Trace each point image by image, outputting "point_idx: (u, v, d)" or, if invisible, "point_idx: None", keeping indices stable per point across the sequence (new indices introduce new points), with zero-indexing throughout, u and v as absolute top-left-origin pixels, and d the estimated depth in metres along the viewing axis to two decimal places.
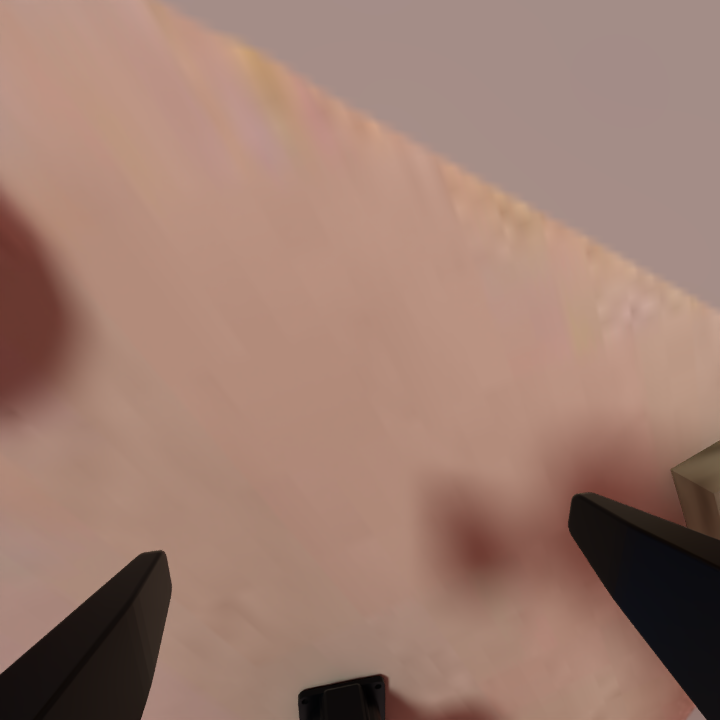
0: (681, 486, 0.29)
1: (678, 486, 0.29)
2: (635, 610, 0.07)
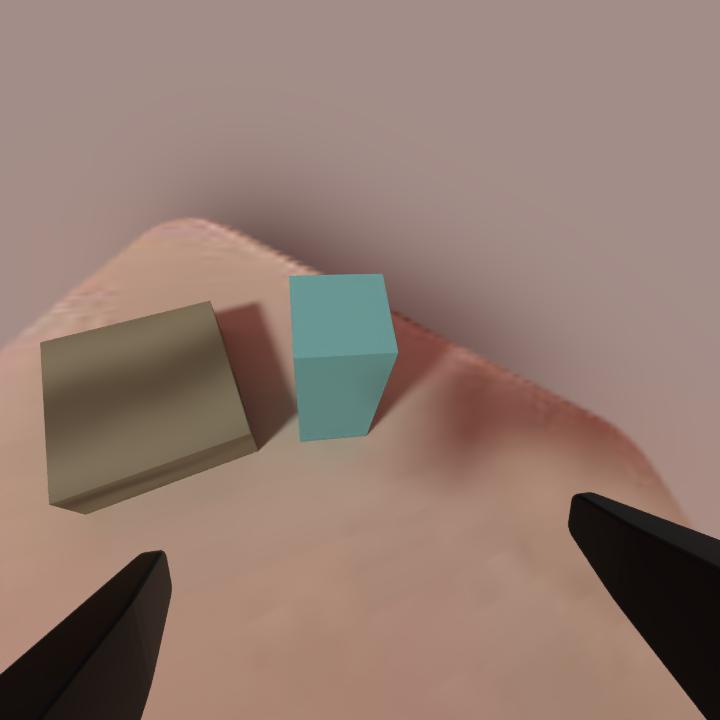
0: (108, 502, 0.19)
1: (116, 501, 0.20)
2: (635, 610, 0.07)
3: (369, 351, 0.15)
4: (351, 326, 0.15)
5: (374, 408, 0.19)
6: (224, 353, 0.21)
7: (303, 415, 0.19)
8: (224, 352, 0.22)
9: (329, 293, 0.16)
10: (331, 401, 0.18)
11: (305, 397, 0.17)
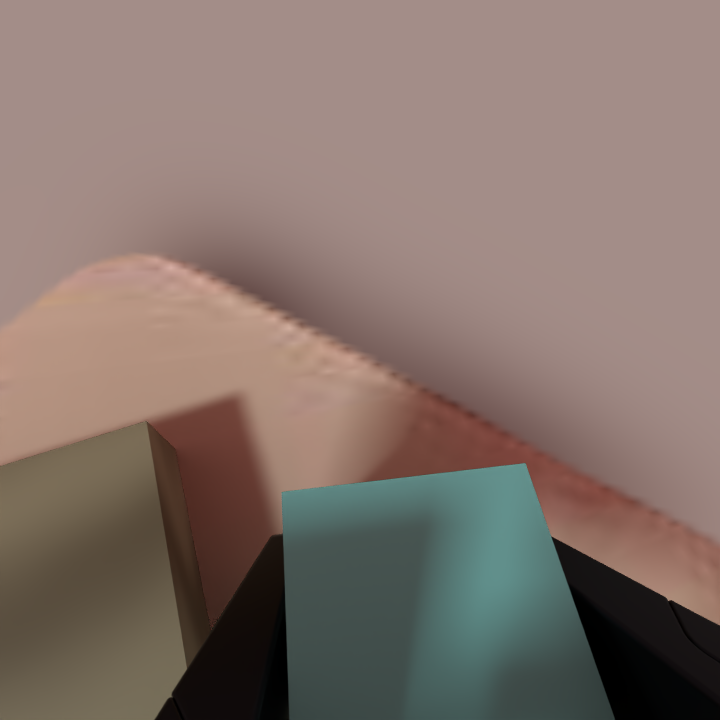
0: None
1: None
2: None
3: None
4: (478, 691, 0.05)
5: None
6: (162, 539, 0.11)
7: None
8: (162, 537, 0.11)
9: (397, 549, 0.05)
10: None
11: None
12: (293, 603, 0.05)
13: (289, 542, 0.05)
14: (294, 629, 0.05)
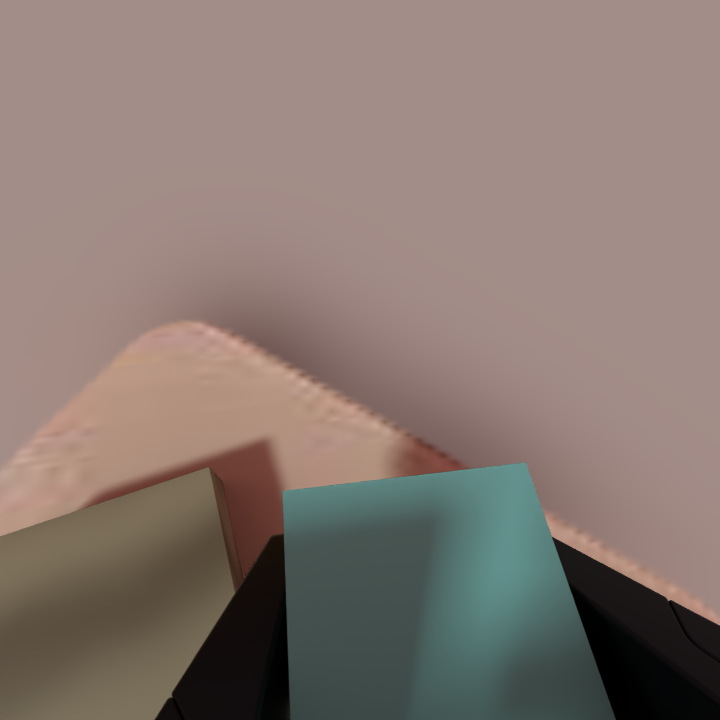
0: None
1: None
2: None
3: None
4: (479, 689, 0.05)
5: None
6: (224, 551, 0.17)
7: None
8: (224, 549, 0.17)
9: (397, 549, 0.05)
10: None
11: None
12: (294, 602, 0.05)
13: (290, 541, 0.05)
14: (295, 628, 0.05)
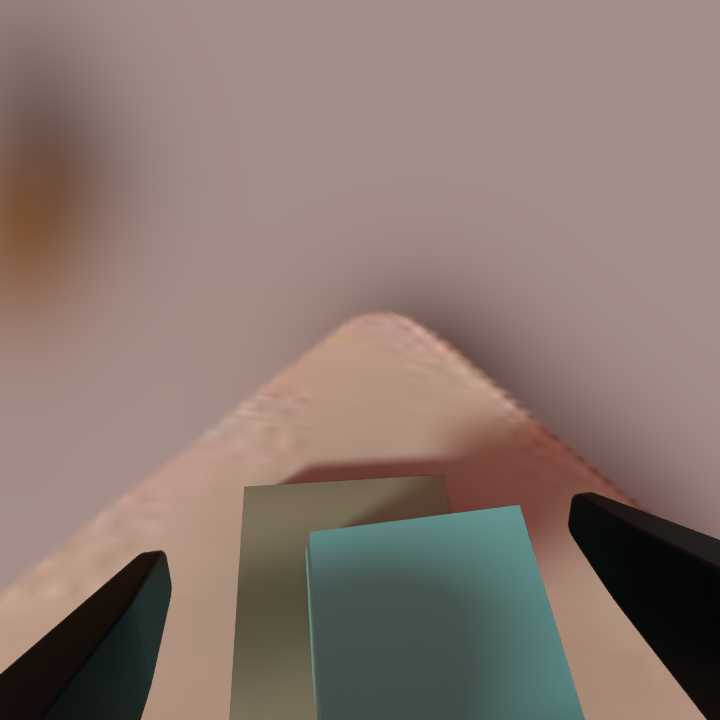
0: None
1: None
2: (635, 610, 0.07)
3: None
4: (476, 704, 0.06)
5: None
6: None
7: None
8: None
9: (409, 583, 0.06)
10: None
11: None
12: (323, 631, 0.06)
13: (317, 577, 0.06)
14: (324, 653, 0.06)
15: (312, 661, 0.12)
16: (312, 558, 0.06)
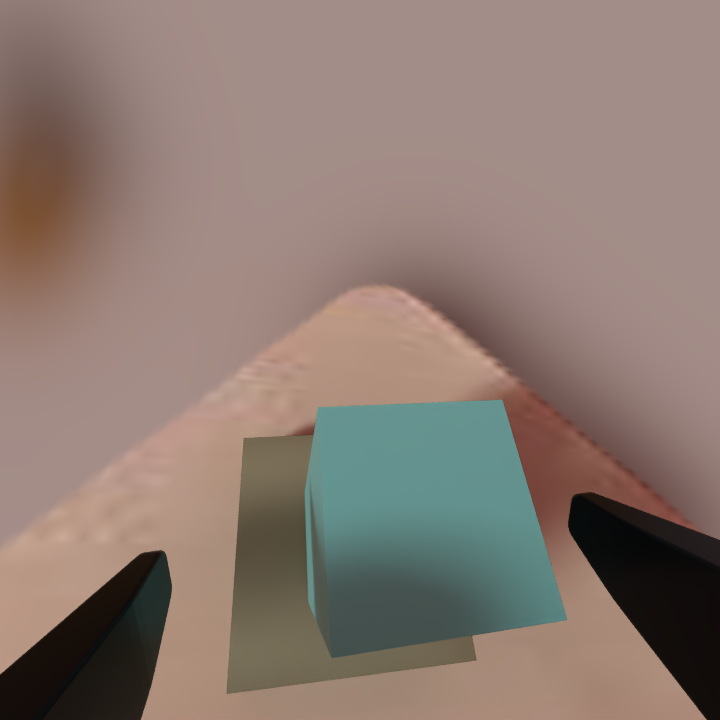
0: None
1: None
2: (635, 610, 0.07)
3: (506, 621, 0.06)
4: (458, 544, 0.07)
5: None
6: None
7: None
8: None
9: (403, 452, 0.07)
10: None
11: None
12: (327, 481, 0.07)
13: (324, 442, 0.07)
14: (328, 498, 0.07)
15: None
16: (319, 427, 0.07)
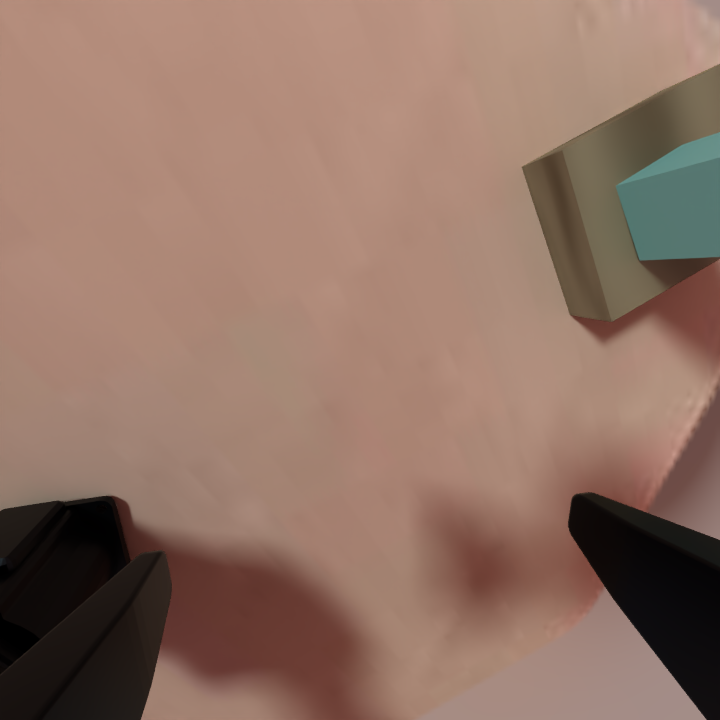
0: (535, 189, 0.20)
1: (533, 194, 0.20)
2: (635, 610, 0.07)
3: None
4: None
5: None
6: (689, 274, 0.20)
7: (709, 167, 0.14)
8: (690, 274, 0.20)
9: None
10: None
11: None
12: None
13: None
14: None
15: (684, 160, 0.16)
16: None
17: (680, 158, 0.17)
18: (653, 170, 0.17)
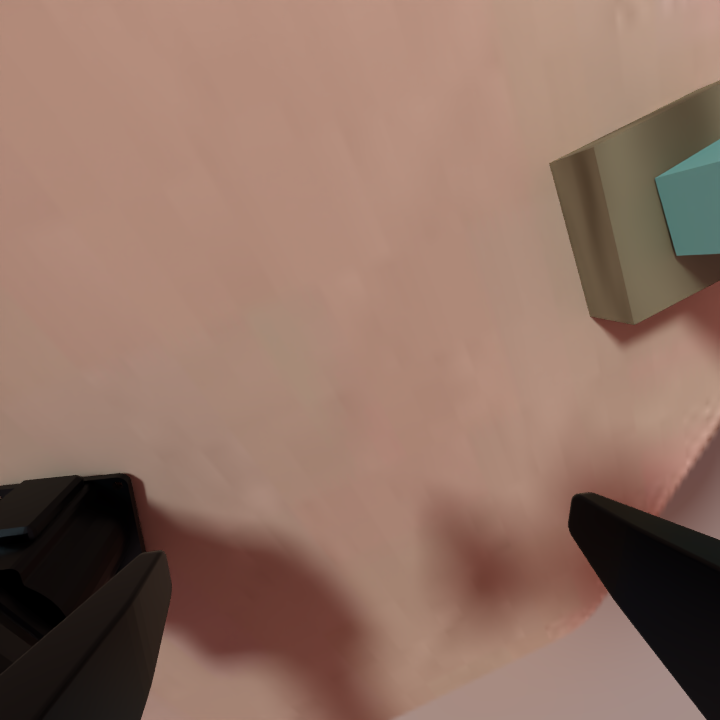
0: (562, 187, 0.20)
1: (559, 192, 0.20)
2: (635, 610, 0.07)
3: None
4: None
5: None
6: (717, 279, 0.20)
7: None
8: (718, 279, 0.20)
9: None
10: None
11: None
12: None
13: None
14: None
15: None
16: None
17: None
18: (696, 162, 0.17)
